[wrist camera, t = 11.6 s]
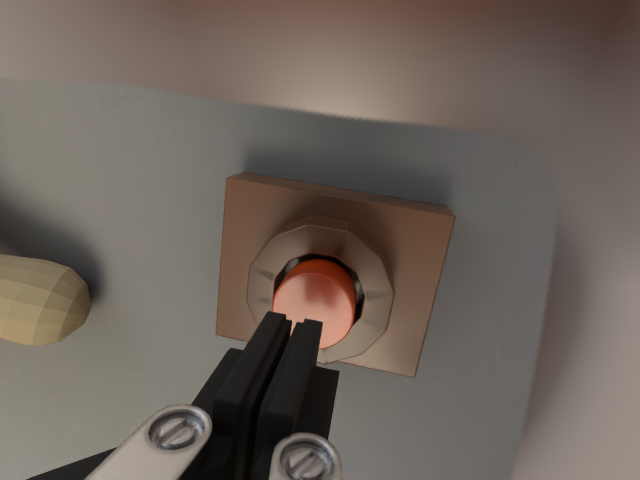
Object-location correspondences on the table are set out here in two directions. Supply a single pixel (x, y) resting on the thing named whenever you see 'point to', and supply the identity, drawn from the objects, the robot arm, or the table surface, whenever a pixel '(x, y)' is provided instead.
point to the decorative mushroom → (40, 300)
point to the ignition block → (341, 248)
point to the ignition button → (318, 298)
